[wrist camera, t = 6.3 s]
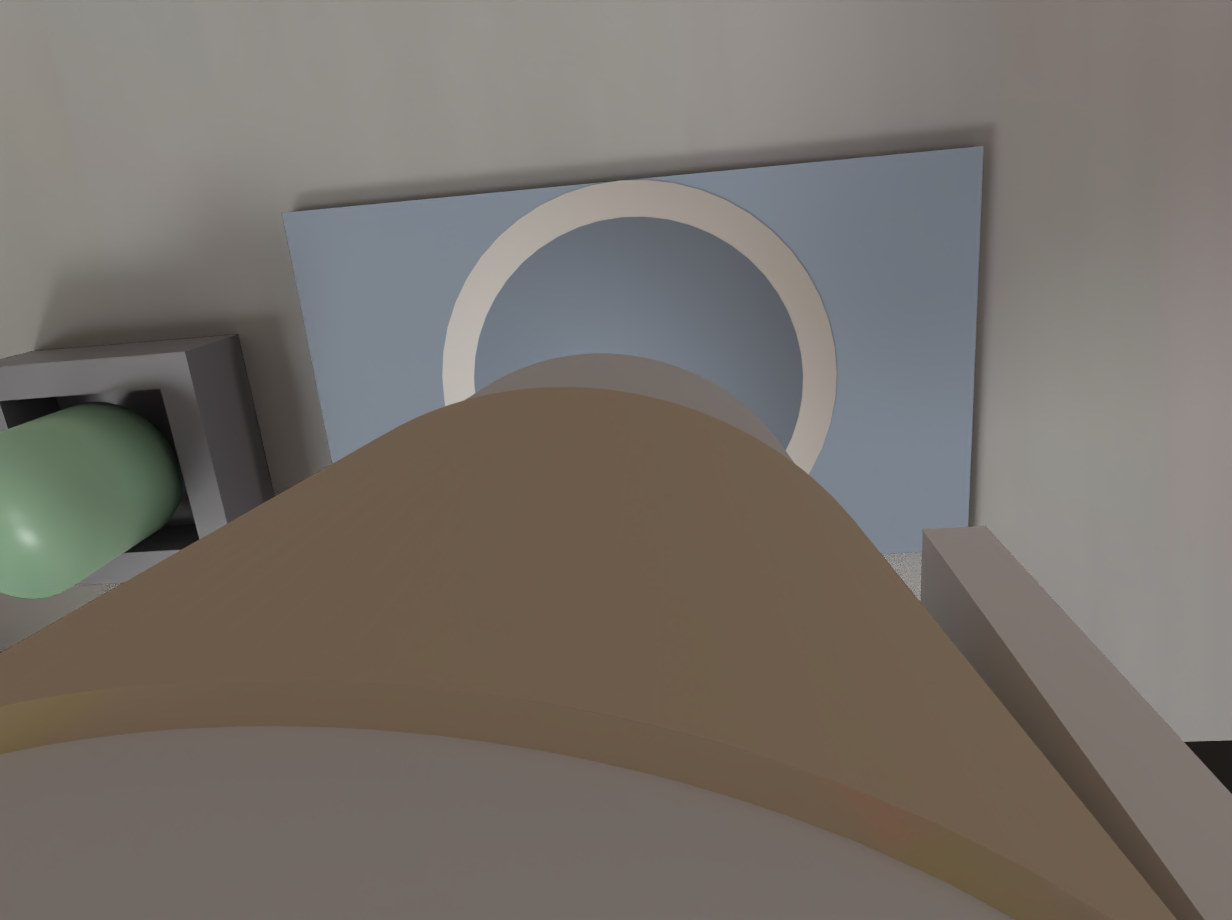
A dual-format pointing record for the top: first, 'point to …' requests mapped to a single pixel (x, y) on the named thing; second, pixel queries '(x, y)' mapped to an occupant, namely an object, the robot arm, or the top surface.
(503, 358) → the slate board
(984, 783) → the coffee cup
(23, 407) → the button housing
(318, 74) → the top surface
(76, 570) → the button
